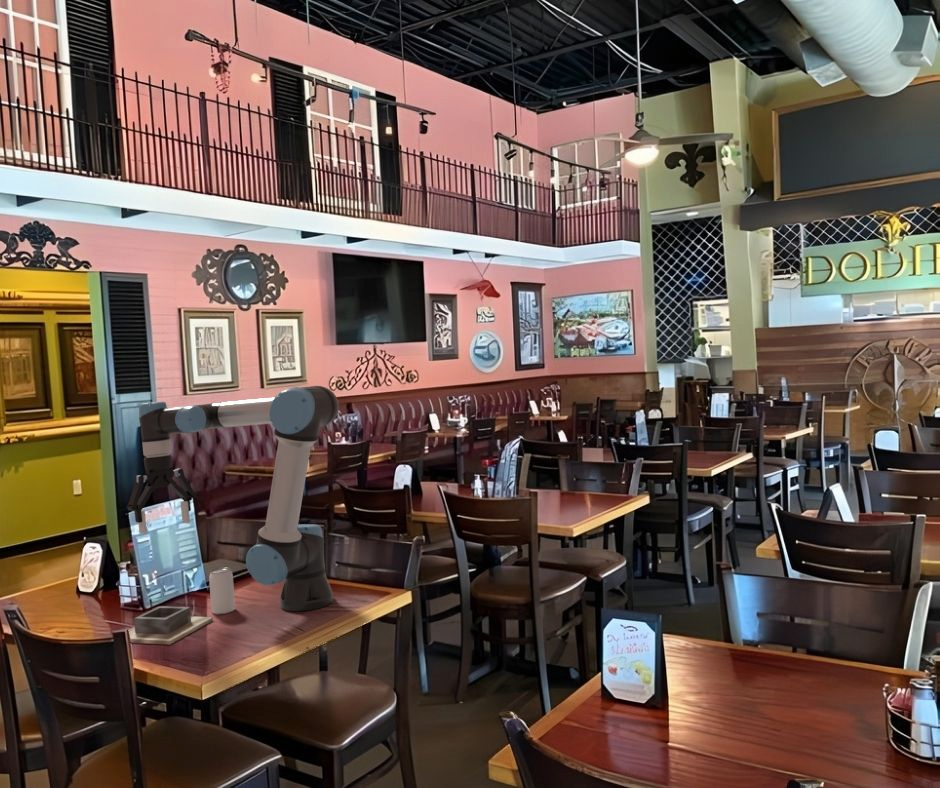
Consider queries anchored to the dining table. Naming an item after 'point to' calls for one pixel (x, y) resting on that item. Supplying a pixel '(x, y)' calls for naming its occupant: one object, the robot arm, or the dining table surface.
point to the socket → (165, 625)
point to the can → (222, 591)
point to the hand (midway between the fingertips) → (165, 528)
